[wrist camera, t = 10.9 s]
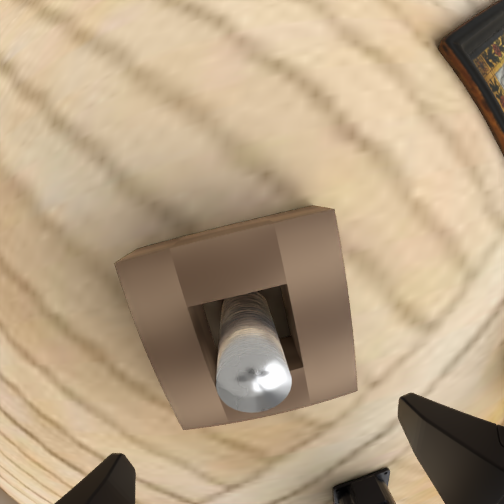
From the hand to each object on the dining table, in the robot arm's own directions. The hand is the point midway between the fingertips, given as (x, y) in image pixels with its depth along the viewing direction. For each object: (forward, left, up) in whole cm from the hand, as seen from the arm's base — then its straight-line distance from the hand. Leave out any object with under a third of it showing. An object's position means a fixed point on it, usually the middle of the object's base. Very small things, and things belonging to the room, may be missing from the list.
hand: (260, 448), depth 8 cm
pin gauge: (0, 0, -12) cm, 12 cm away
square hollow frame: (0, 0, -12) cm, 12 cm away
